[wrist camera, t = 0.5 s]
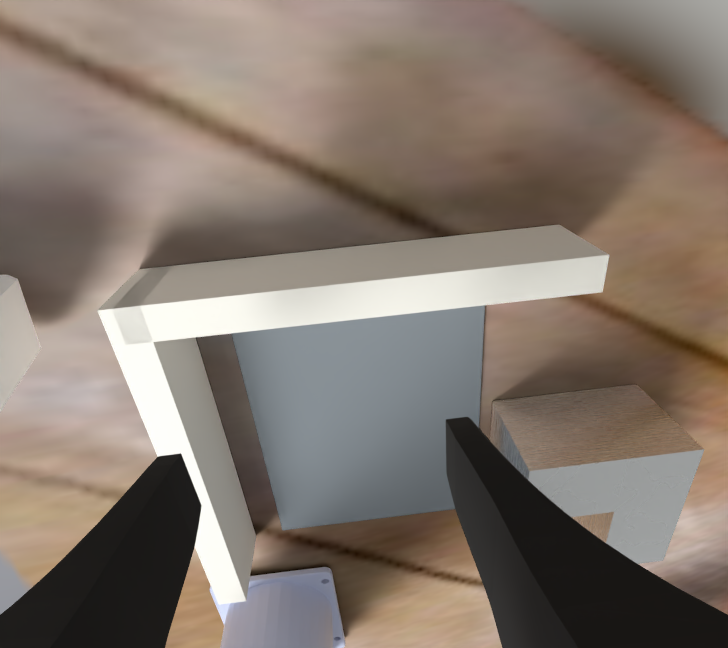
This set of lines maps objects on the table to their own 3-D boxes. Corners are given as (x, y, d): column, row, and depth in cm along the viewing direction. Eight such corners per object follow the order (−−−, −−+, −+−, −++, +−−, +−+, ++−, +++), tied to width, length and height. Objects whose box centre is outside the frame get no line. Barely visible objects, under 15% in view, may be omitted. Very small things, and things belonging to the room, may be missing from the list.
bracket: (610, 486, 28) (662, 560, 24) (485, 502, 28) (515, 579, 24) (636, 383, 25) (704, 449, 20) (492, 401, 24) (529, 471, 20)
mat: (474, 503, 28) (475, 506, 28) (282, 527, 28) (282, 530, 28) (483, 303, 21) (484, 305, 21) (232, 331, 21) (231, 333, 21)
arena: (524, 503, 28) (552, 562, 25) (232, 539, 28) (218, 604, 24) (559, 224, 20) (609, 254, 16) (138, 269, 19) (97, 310, 16)
